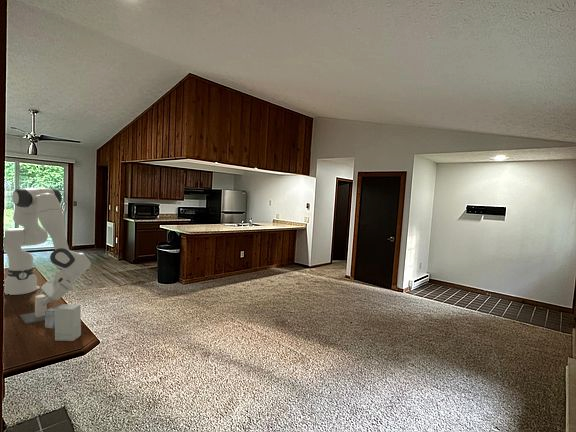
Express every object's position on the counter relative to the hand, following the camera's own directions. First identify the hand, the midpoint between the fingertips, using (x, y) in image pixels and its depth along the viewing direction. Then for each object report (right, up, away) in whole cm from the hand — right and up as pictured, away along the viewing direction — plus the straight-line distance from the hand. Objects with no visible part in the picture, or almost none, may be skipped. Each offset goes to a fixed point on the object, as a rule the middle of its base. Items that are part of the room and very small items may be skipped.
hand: (39, 302), depth 157 cm
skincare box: (+27, -11, -18) cm, 34 cm away
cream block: (0, -7, +1) cm, 7 cm away
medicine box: (+13, -9, -6) cm, 17 cm away
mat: (0, -8, +1) cm, 8 cm away
